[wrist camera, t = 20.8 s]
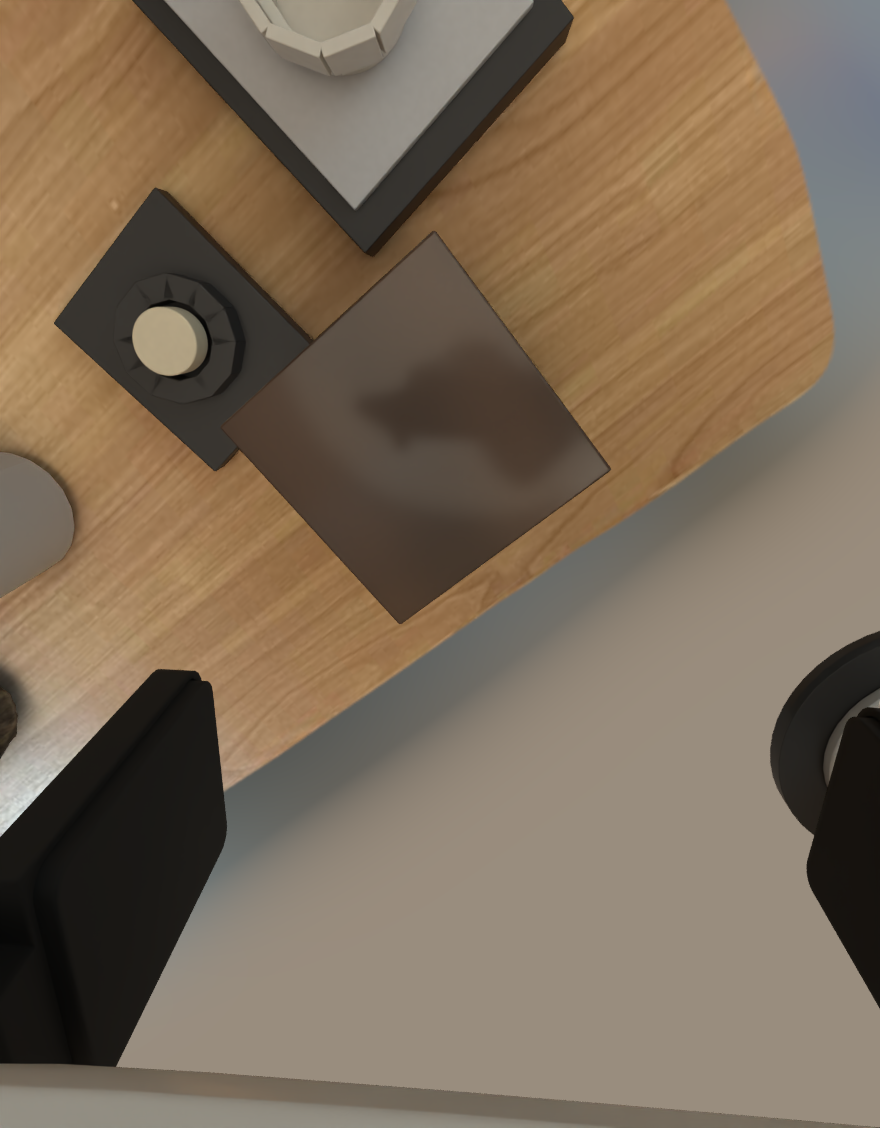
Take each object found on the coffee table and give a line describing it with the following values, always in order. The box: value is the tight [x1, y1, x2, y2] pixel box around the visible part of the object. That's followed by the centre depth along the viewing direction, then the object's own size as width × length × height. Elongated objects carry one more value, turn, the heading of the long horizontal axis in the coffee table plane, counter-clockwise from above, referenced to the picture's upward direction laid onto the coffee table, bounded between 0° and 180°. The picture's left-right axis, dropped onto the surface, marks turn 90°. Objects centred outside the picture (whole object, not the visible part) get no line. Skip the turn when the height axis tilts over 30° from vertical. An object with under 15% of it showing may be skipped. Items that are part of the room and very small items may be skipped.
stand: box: [220, 231, 611, 624], centre depth 30 cm, size 10×10×14 cm
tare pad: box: [54, 187, 313, 471], centre depth 35 cm, size 11×9×3 cm
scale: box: [132, 0, 574, 257], centre depth 29 cm, size 15×13×3 cm
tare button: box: [132, 307, 208, 376], centre depth 33 cm, size 3×3×2 cm
